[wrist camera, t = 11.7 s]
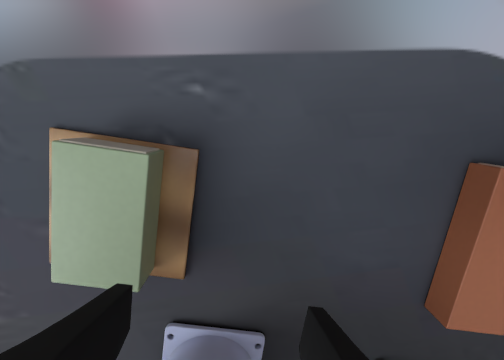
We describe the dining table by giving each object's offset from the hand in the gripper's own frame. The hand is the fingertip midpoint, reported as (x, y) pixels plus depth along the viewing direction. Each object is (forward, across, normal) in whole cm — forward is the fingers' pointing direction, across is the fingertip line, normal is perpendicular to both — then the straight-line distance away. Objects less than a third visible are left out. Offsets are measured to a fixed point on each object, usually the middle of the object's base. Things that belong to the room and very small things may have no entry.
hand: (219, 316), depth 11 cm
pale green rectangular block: (+9, +8, 0) cm, 12 cm away
